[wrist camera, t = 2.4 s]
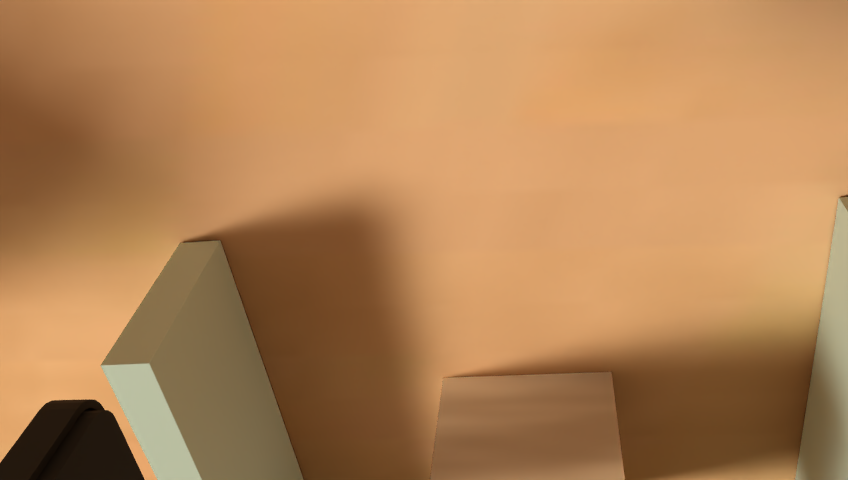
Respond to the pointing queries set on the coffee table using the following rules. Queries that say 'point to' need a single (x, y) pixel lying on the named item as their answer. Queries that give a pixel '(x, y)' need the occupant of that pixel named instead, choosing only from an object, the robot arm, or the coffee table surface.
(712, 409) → the coffee table surface
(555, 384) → the beige block
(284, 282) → the coffee table surface
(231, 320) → the u-shaped bracket
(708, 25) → the coffee table surface
